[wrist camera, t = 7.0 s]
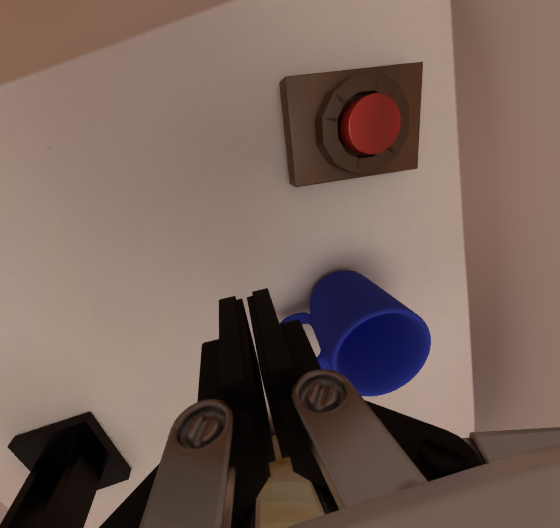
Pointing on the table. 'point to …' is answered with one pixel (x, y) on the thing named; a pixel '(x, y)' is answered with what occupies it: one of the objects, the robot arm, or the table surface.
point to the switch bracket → (63, 473)
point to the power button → (370, 124)
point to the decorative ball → (286, 495)
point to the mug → (365, 333)
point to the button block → (327, 116)
